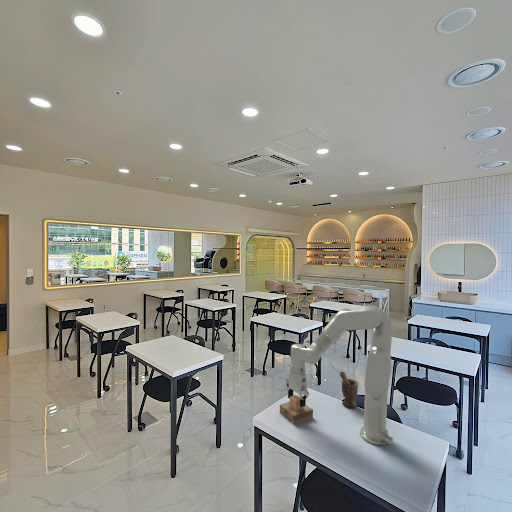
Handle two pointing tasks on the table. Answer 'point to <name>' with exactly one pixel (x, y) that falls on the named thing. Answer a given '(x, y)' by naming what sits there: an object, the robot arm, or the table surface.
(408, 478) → the table surface
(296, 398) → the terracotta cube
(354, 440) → the table surface
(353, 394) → the mortar and pestle
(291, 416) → the walnut base
